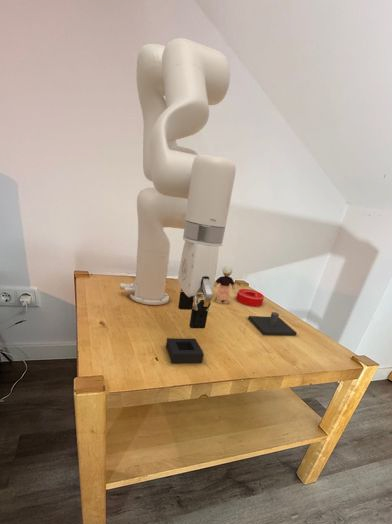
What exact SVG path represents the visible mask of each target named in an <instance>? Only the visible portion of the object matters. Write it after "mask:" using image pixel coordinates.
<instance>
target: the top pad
mask: <svg viewBox="0 0 392 524" xmlns="http://www.w3.org/2000/svg"><path fill="white" fill-rule="evenodd" d="M165 349H166V351H167V354H168V357H169V359H170V362H171V364H174V365H175V364H203V360H204V354H205V353H204V351H203V349H202V348H201V346H200V344H199V342H198V341H197V339H196V338H175V337H174V338H173V337H172V338H169V337H168V338H166V343H165Z"/></svg>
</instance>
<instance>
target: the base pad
mask: <svg viewBox="0 0 392 524" xmlns="http://www.w3.org/2000/svg"><path fill="white" fill-rule="evenodd" d="M279 316H280V314H279V313H278V312H276V311H273V312H271V314H270V316H261V315H260V316H259V315H258V316H257V315H248V317H247V319H248V320H249V321H250V323H252V324H253V326H254V327H255V328H256V329H257V330H258V331H259V332H260V334H262V335H263V336H297V331H296V330H294V329H293V328H292V327H291V326H290V325H288V323H286V322H285V321H284V320H283V319H282V318H281V317H279Z"/></svg>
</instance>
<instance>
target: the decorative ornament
mask: <svg viewBox="0 0 392 524" xmlns="http://www.w3.org/2000/svg"><path fill="white" fill-rule="evenodd" d="M235 297H236V298H235V300H236V301H237V302H238V303H240V304H241V305H245V306H249V307H260V306H262V305H263V302H264V298H265V296H264V294H263V293H261V292H259V291H257V290H254V289H250V288H241V289H238V290H237V293H236V296H235Z"/></svg>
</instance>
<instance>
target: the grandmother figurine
mask: <svg viewBox="0 0 392 524" xmlns="http://www.w3.org/2000/svg"><path fill="white" fill-rule="evenodd" d="M222 274H223V276H219V277H218V278H217V279H215V282H214V287H217V285H218V284H219V287H218V290H217V297H216V300H215V302H216V303H218V304H222V303H223V304H229V297H230V296H229V295H230V285H231V289H232V290H236V285H235V281H234V279H233V278H232V277H231V274H233V267H232V266H230V265H225V266H224V267H223V268H222ZM214 287H213V288H214Z"/></svg>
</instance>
